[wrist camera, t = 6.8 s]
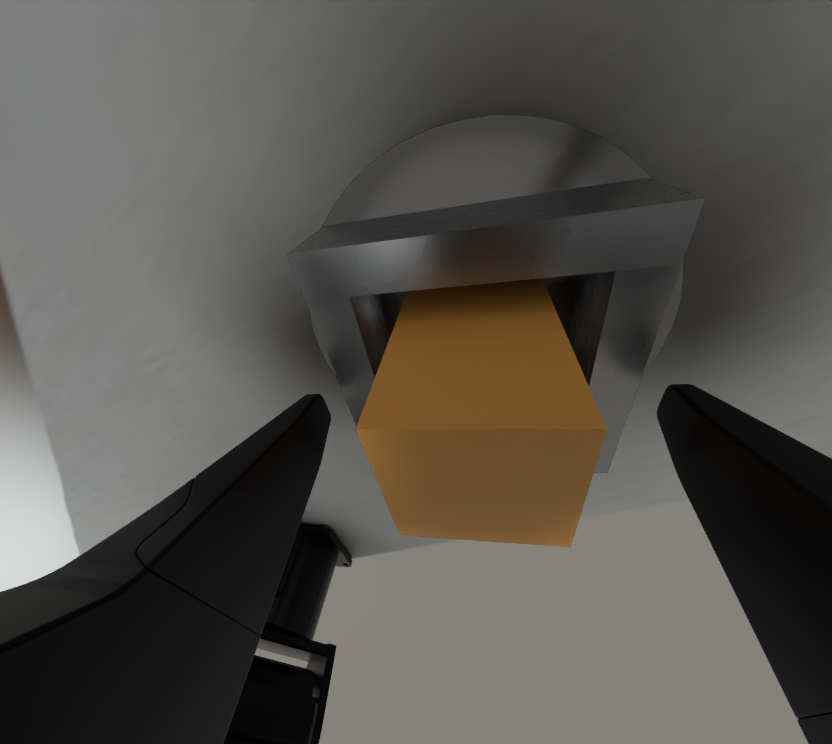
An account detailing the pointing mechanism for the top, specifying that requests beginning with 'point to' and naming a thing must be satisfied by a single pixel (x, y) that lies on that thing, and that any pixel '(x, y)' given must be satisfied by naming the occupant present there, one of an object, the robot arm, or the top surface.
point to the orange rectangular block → (482, 417)
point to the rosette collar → (504, 248)
